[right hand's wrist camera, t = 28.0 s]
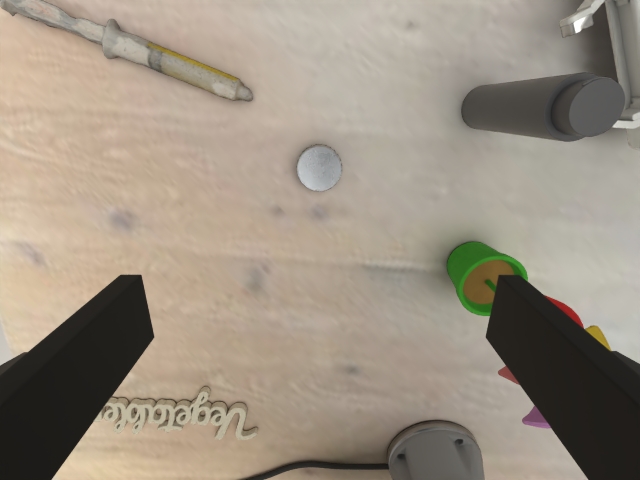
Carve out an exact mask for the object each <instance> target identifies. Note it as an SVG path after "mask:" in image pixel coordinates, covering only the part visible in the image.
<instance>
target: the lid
mask: <svg viewBox="0 0 640 480" xmlns="http://www.w3.org/2000/svg"><path fill="white" fill-rule="evenodd" d="M340 161H341V160H340V158H339V157H338V154H336V152H335V150H333V149H331V147H328V146H327V145H322V144H321V145H317V144H316V145H314V146H312V145H311V147H309V148H306V150H305V151H303V152H302V154H301V155H300V157H299V160H298V164H297V173H298V177H299V179H300V181H301V182H302V184H303V185H304V186H305V187H307V188H308V189H310V190H313V191H325V190H328V189H330V188H332V187H333V186H334V185H335V184H336V183H337V182H338V181H339V178H340V176H341V171H342V167H341V166H342V164H341V162H340Z"/></svg>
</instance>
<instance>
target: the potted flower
mask: <svg viewBox="0 0 640 480" xmlns="http://www.w3.org/2000/svg"><path fill="white" fill-rule="evenodd" d="M447 271H448V274H449V276H450V278H451V280H452V282H453V284H454V286H455V288H456V292H457V295H458V297H459V299H460V301H461V303H462V305H463V306H464V307H465V308H466V309H467V310H469V311H470V312H472V313H474V314H477V315H481V316H490V314H491V309H492V304H493V300H494V295H495V290H496V285H497V280H498V275H520V276H521V277H523V278H524V279H525V280H526V281H527V282H528V277H527V272H526V270H525V268H524V267H523V266H522V264H521V263H520V262H518V261H517V260H515V259H514V258H512V257H510V256H508V255H506V254H502V253H499V252H498V251H496V250H494V249H492V248H491V247H489V246H487V245H485V244H483V243H480V242H469V243H465V244H463V245H461V246H459V247H457V248H456V249H455V250H454V251H453V252H452V253H451V255H450V257H449V259H448V262H447ZM544 296H545V295H544ZM545 297H547V296H545ZM547 298H548V299H549V300H550V301H551V302H553V303H554V304H555V305H556V306H557V307H559V308H560V309H561V310H562V311H563V312H565V313H566V314H567V315H568V316H569V317H571V318H572V319H573V320H574V321H575V322H577V323H578V324H579V325H580V326H581V327H582V328H584V327H583V324H582V322H581V320H580V318H579V316H578V315H577V314H576V313H575V312H574V311H573V310H572V309H571V308H570V307H568V306H567V305H565V304H564V303H561V302H559V301H557V300H555V299H552V298H550V297H547ZM585 330H586V331H587V332H588V333H590V334H591V335H592V336H593V337H594V338H596V339H597V340H598V341H599V342H600V343H602V344H603V345H604V346H605V347H606V348H608V349H609V350H610V351H611V349H610V346H609V344H608V342H607V340H606V338H605V337H604V335H603V333H602V331H601V330H600V329H599V327H598V326H590V327H588V328H586V329H585ZM498 374H499V375H501V376H503V377H505V378H507V379H509V380H511V381H513V382H514V383H516V384H519V383H518V381H517V380H516V379H515V377H514V376H513V374H512V373H511V372H510V370H509V369H508V367H507V366H505V367H504V368H502V369H501V370H499V371H498ZM519 385H520V384H519ZM522 422H523V423H524V424H526V425H531V426H535V427H541V428H551V427H550V426H549V424H548V423H547V421H546V420H545V419H544V417H543V416H542V415H541V413H540V412H539V410H538V409H537V408H536V406H534V407H533V409H532V410H531V412H530V413H529V414H528V415H527V416H525V417H524V418H523V419H522Z"/></svg>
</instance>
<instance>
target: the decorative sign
mask: <svg viewBox="0 0 640 480" xmlns="http://www.w3.org/2000/svg"><path fill="white" fill-rule="evenodd" d="M209 395H210V389H209V388H208V387H203V388H202V389H201V391H200V393H199V395H198V397H197V398H196V399H194V400H193V401H192V403H191V402H189V401H186V400H182V401H180V402H178V403H177V405H176V403H175V402H174V401H173V400H164V399H161V400H159V401H158V402H157V403H155V401H154V400H152V399H148V400H140V399H133V400H132V401H131V403H130V404H129V402H128V400H127V399H125V398H119V399H116V398H112V397H111V398H110V399H109V401H108V402H107V403H106V405H105V406H107V405H109V406H110V407H109V408H108V410H107V411H106V412H105V406H104V408H103V409H102V410H101V412H100V413H99V415H98V416H97V417H96V419H95V420H94V422H99V421H101V420H102V418H103V417H104V419H105V420H106V421H108V422H113V421H115V420H116V419H117V417H118V416H119V414H120V413H121V412H122V416H121V417H120V419H119V420H118V422H117V423H116V425H115V427H114V432H115V433H120V432H121V431H122V430H123V428H124V427H125V425H126V423H127V422H129V423H134V422H136V423H135V424H134V426H133V428H132V433H133V434H138V433H139V432H140V430H141V429H142V427H143V425H144V424H145V422H146V419H147V415H148V411H149V418H148V423H149V424H151V423H152V422H154V423H155V424H160V425H159V427H158V429H157V430H162V429H165V430H164V431H165V432H167V433H168V432H169V431H170V430H171V429H172V430H179V431H181V430H182V428H183V426H184V424H186V423H188V422H189V420H190V418H191V424H193V425H195V424H196V423H197V424H199V425H202V426H204V425H207V424H208V422H209V420H210V417H211V414H212V411H214V410H216V411H215V412H214V413H213V416H212V418H211V423H212V424H213V425H214V426H220V428H219V430H218V431H217V432H216V434H215V439H217V440H219V439H222V438H223V436H224V434H225V432H226V430H227V427H228V425H229V423H230V421H231V419H232V417H233V416H234V414H235V413H239V414H240V418H239V421H238V425H237V429H236V433H235V435H236V438H237V439H239V440H247V439H250V438H253V437H255V436H256V435H257V432H258V428H256V427H255V428H253V429H251V430H249V431H243V425H244V422H245V418H246V414H247V407H246V405H245V404H243V403H235V404H233V405H232V406H231V407H230V408H229V410H228V409H227V406H226V404H225V403H223V402H215V403H213V404H211V403H210V402H206V401H207V399H208V397H209ZM134 408H137V413H134ZM180 408H181V410H180V411H179V413H178V416H177V418H176V414H177V410H178V409H180ZM156 409H160V410H161V413H162V414H161V415H157V414H156ZM202 410H205V412H206V415H205V416H204V417H201V416H200V412H201V411H202ZM168 411H169V414H170V416H169V421H165V419H166V417H167V415H168ZM112 412H113V413H112ZM183 415H186V416H183ZM139 416H140V417H139ZM191 416H192V417H191ZM218 416H220V417H218ZM138 417H139V418H138ZM175 418H176V421H175ZM164 421H165V422H164Z"/></svg>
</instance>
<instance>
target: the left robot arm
mask: <svg viewBox="0 0 640 480" xmlns="http://www.w3.org/2000/svg"><path fill="white" fill-rule="evenodd" d="M604 2H605V6H606V12H607V18H608V24H609V30H610V36H611V42H612V48H613V54H614V60H615V66H616V72H617V77H618V83H619V84H620V85H621V87H622V88H623V90H624V94H625V106H624V109H623V112H622V114H621V116H620V118H619V119H618V121H617V122H616V123H615V124H614V125H613V126H612V127H611V128H626V131H627V137H628V143H629V146H630V147H631V148H634V149H637V150H640V0H584V1H583V3H582V4H581V5H580V7H579V8H578V9H577V11H576V13H574V14H572V15H570V16H568V17H566V18H564V19H562V20H561V21H559V23H560V28H561V33H562V37H563V38H564V37H566V36H571V35H573V34H576V33H578V32H580V31H581V30H583V29H586V28H588V27H590V26H592V25H594V24H593V17H592V15H593V14H594V13H595V11H596V10H597V9H598V8H599V7H600V5H601V4H602V3H604Z"/></svg>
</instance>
